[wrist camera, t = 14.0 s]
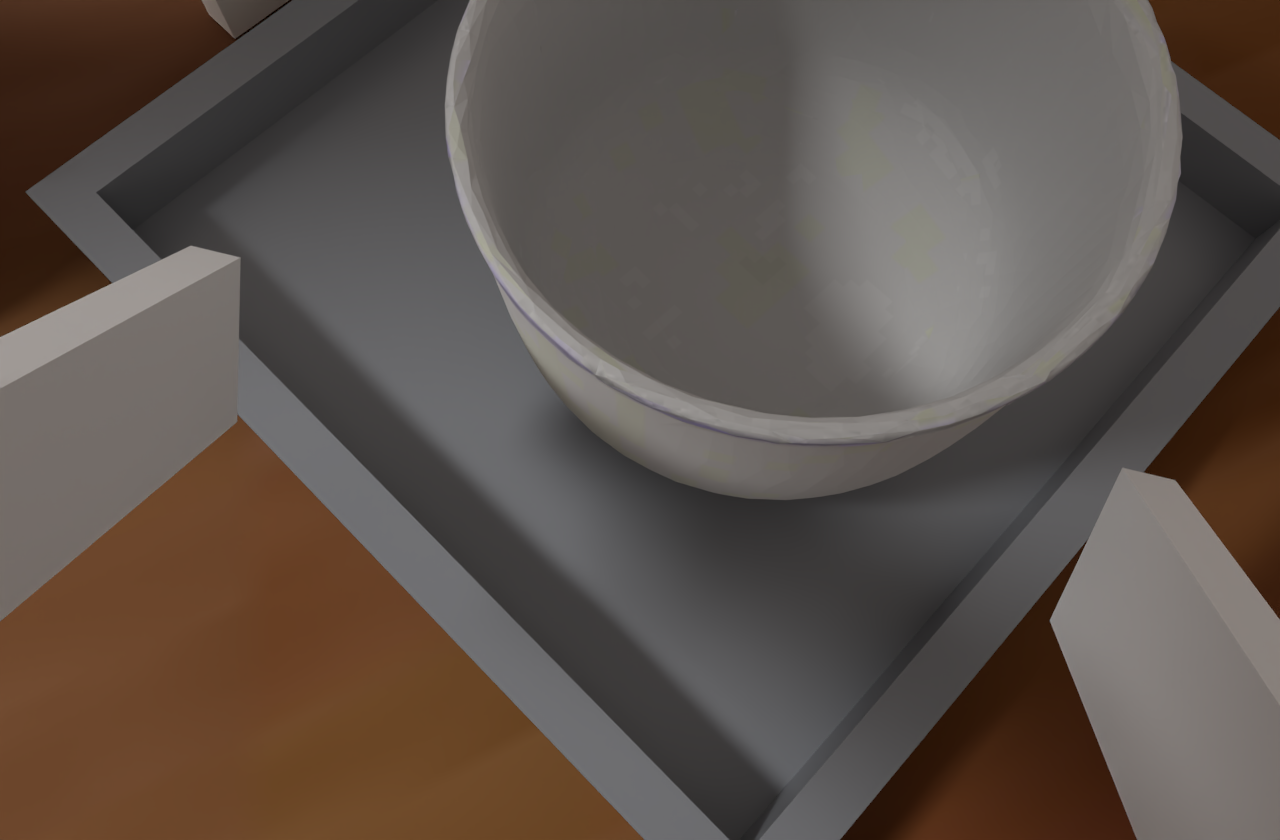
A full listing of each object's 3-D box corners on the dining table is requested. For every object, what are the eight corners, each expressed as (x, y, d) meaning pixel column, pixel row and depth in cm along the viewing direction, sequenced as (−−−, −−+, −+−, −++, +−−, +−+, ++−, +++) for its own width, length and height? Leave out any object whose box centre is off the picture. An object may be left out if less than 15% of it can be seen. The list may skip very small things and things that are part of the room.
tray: (78, 244, 22) (25, 191, 20) (685, -208, 27) (693, -287, 25) (732, 927, 18) (749, 949, 16) (1298, 251, 24) (1365, 202, 22)
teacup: (1075, 440, 21) (1342, 264, 14) (602, 634, 19) (605, 556, 12) (798, -49, 25) (885, -397, 18) (384, 77, 23) (282, -249, 16)
